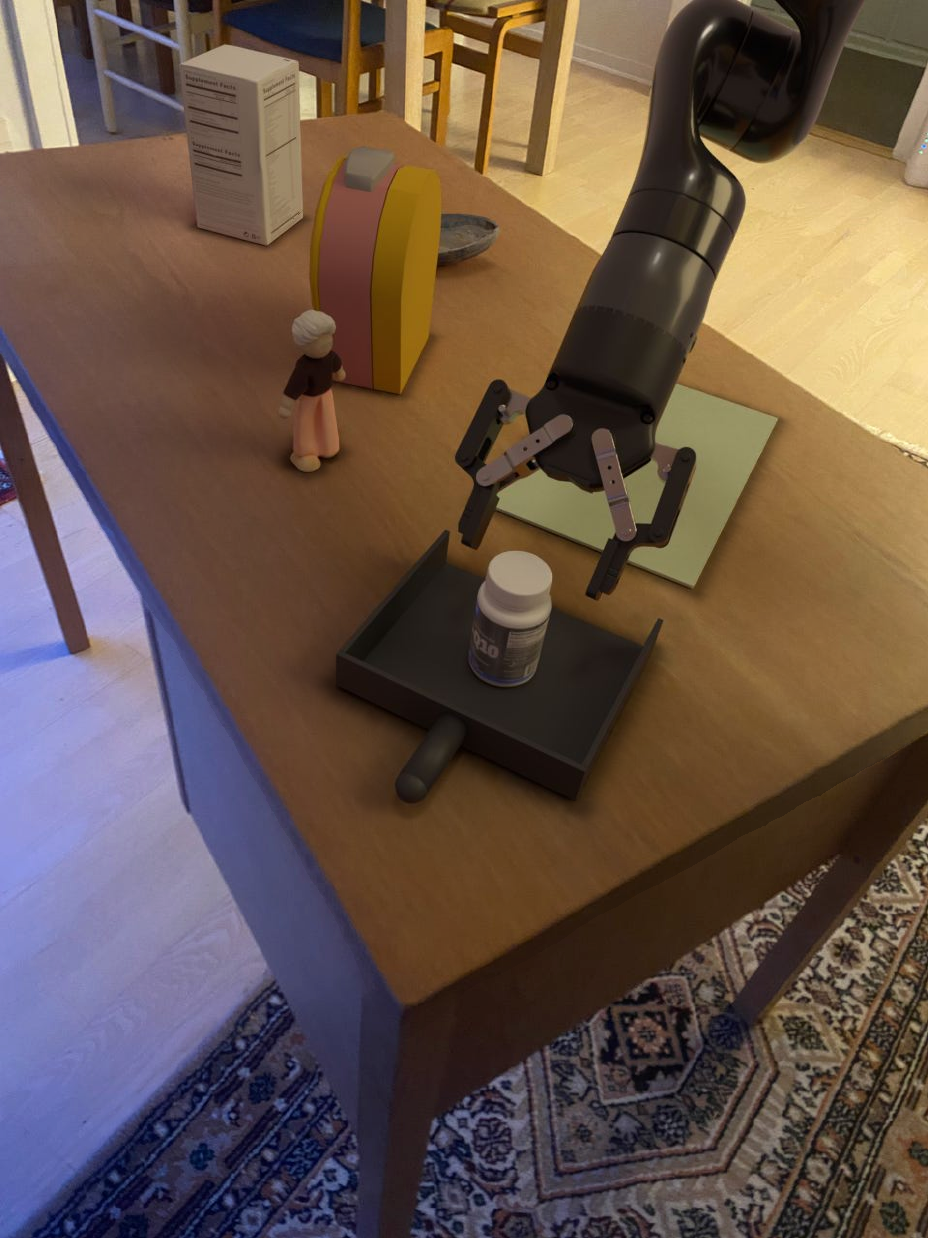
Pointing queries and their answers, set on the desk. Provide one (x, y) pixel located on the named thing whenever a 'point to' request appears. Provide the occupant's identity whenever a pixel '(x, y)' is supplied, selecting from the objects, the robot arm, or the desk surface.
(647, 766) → the desk surface
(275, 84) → the supplement box
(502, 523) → the desk surface
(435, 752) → the dustpan
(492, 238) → the grey shallow oval dish
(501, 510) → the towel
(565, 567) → the desk surface
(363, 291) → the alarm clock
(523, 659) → the pill bottle
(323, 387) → the grandmother figurine
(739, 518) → the desk surface
